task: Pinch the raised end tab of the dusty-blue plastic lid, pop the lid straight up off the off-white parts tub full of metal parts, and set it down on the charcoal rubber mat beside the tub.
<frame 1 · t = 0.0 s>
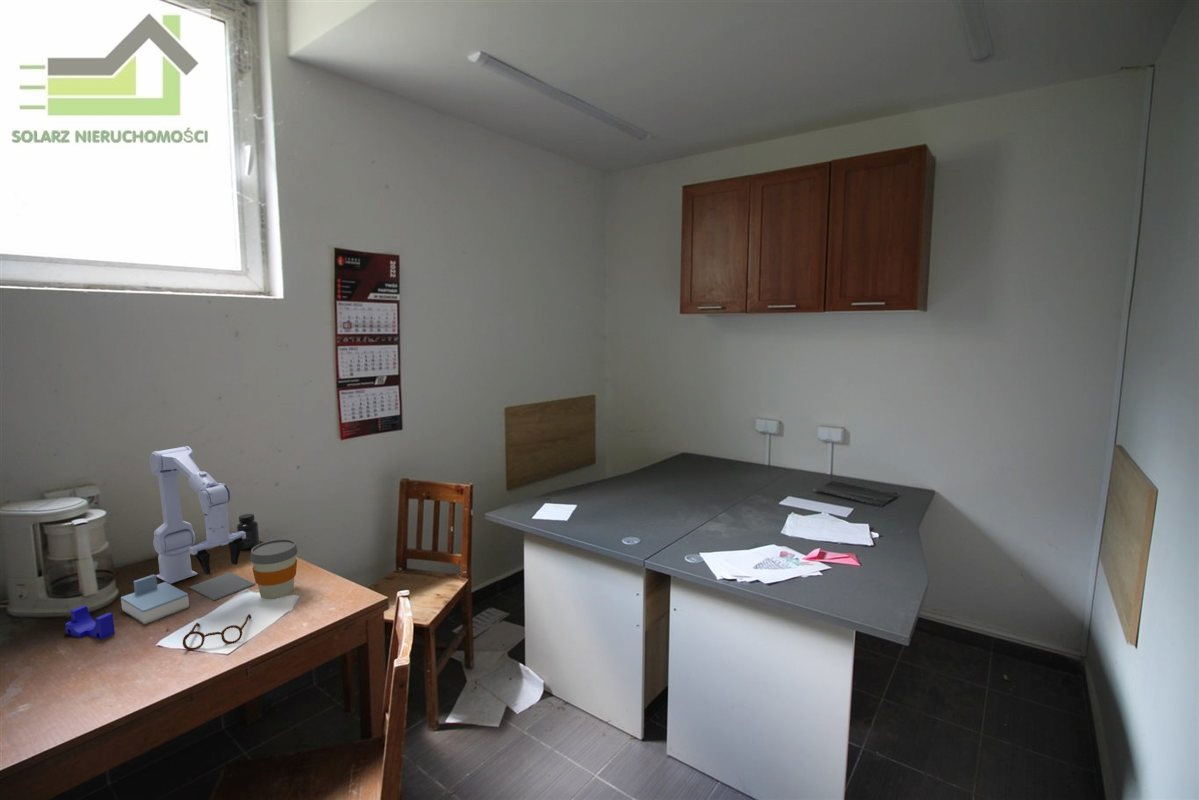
hand: (221, 568, 166), 10 cm above the table, tool pointing down, fingers open, 7 cm apart
cable clip: (90, 634, 149), on the table
reusable coffee cup: (277, 592, 173), on the table
lid: (154, 597, 162), point 3 cm above the table, touching tub
glasses: (219, 635, 151), on the table
supplement bottle: (249, 547, 206), on the table
tub: (156, 608, 162), on the table
mat: (222, 586, 176), on the table
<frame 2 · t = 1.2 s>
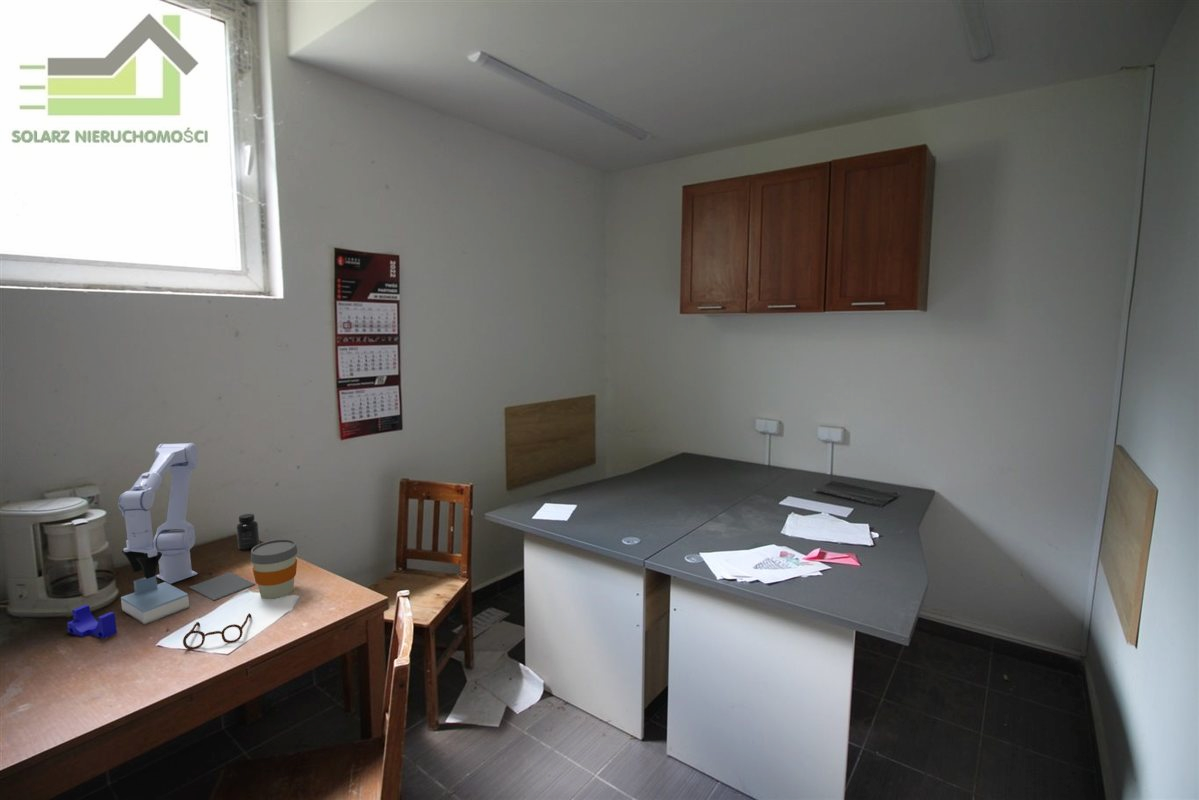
hand: (144, 574, 163), 9 cm above the table, tool pointing down, fingers open, 7 cm apart
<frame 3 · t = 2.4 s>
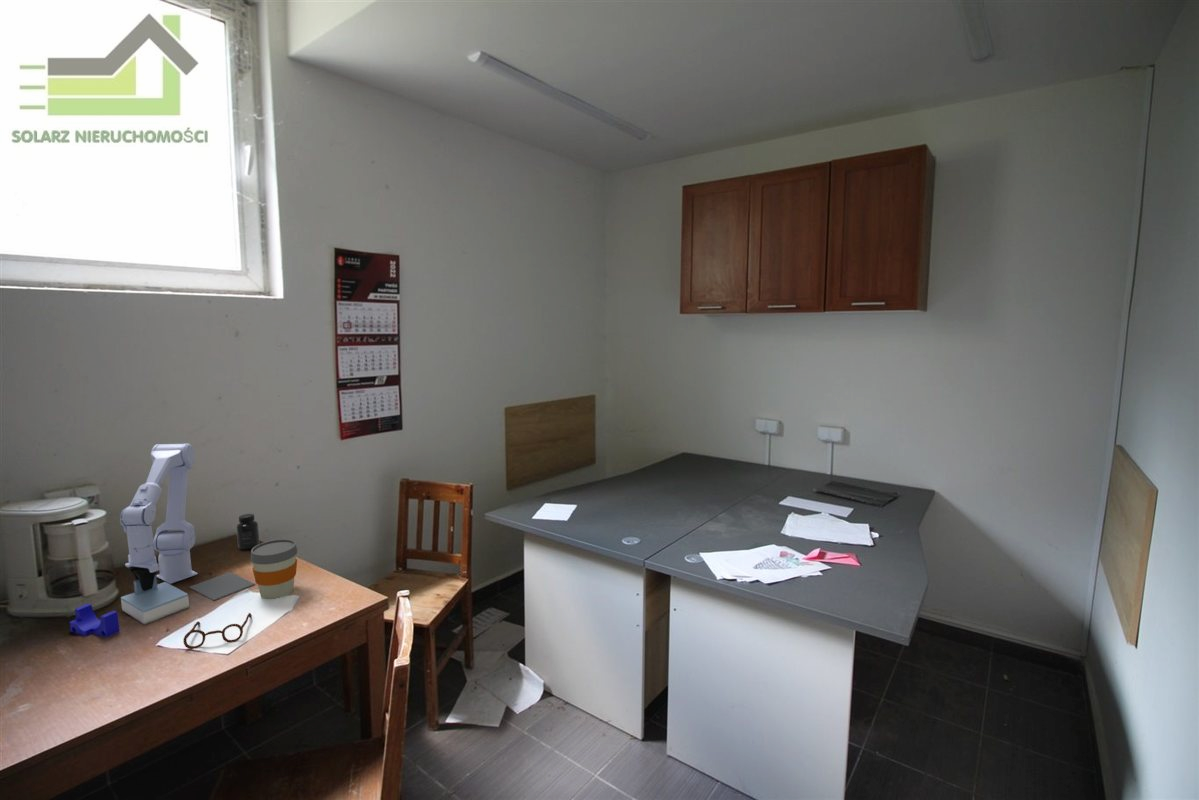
hand: (146, 588, 164), 5 cm above the table, tool pointing down, fingers closed on lid
lid: (154, 597, 162), point 3 cm above the table, touching gripper, tub
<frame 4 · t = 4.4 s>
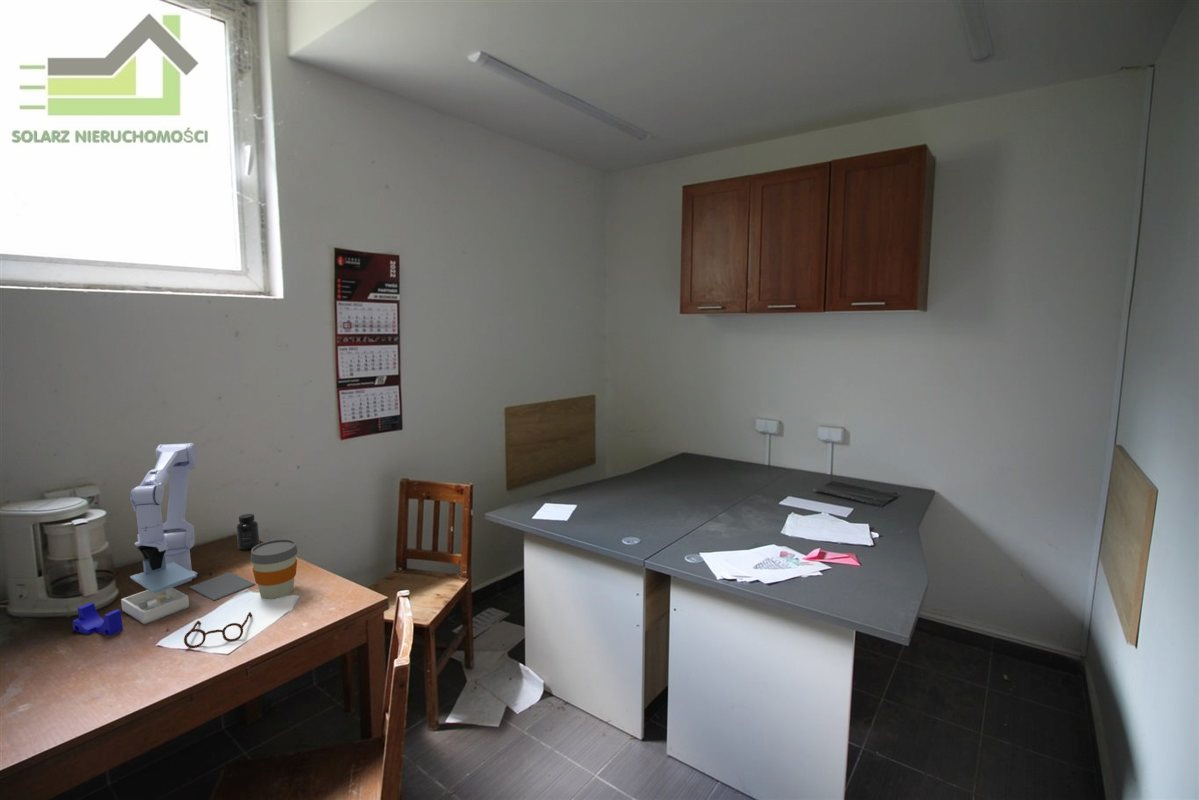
hand: (155, 567, 165), 10 cm above the table, tool pointing down, fingers closed on lid
lid: (163, 577, 163), point 9 cm above the table, touching gripper
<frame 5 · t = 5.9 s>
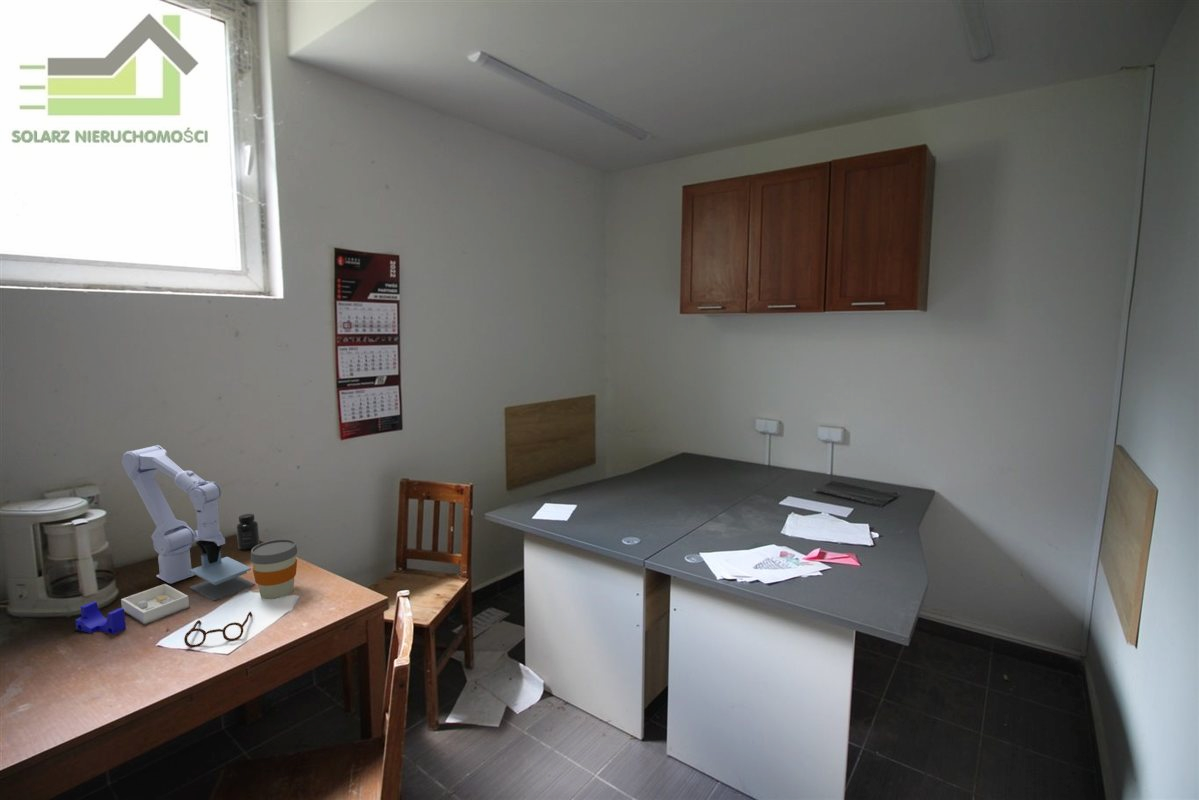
hand: (211, 561, 177), 7 cm above the table, tool pointing down, fingers closed on lid
lid: (220, 570, 175), point 5 cm above the table, touching gripper
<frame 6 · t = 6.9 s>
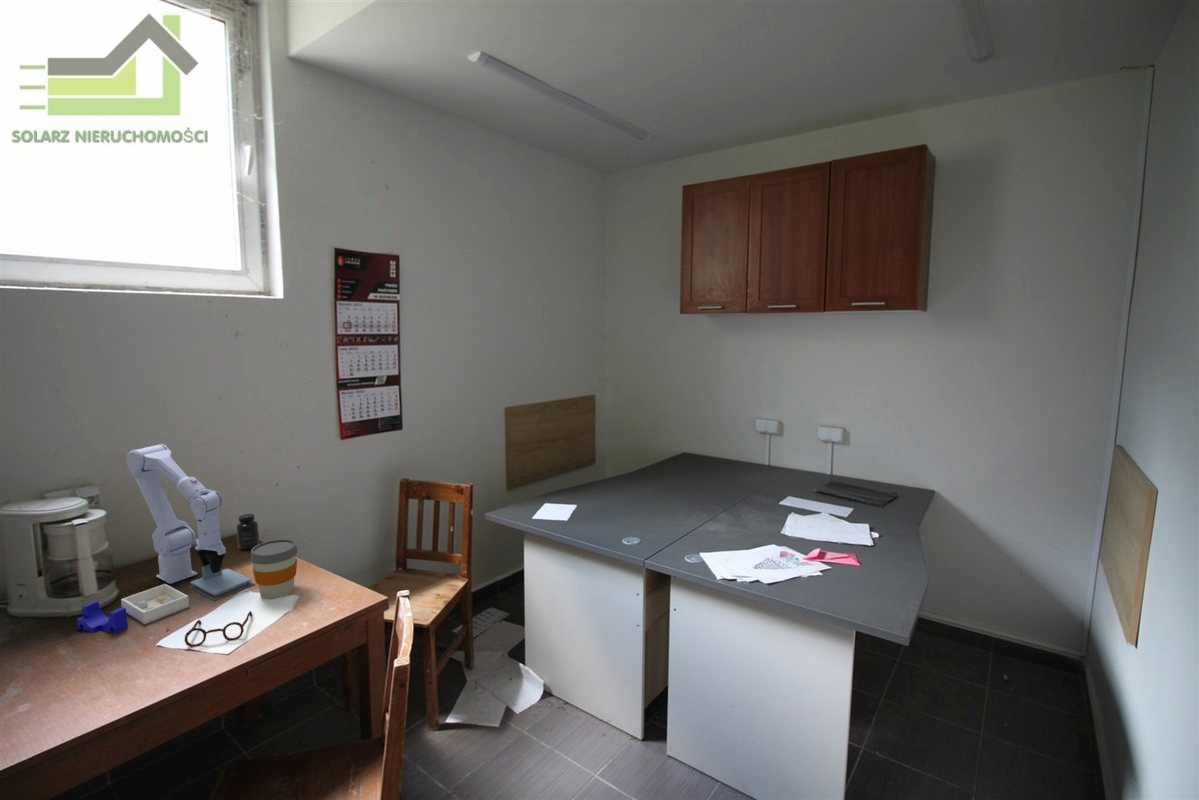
hand: (212, 570, 178), 4 cm above the table, tool pointing down, fingers open, 4 cm apart
lid: (221, 582, 176), point 1 cm above the table, touching mat
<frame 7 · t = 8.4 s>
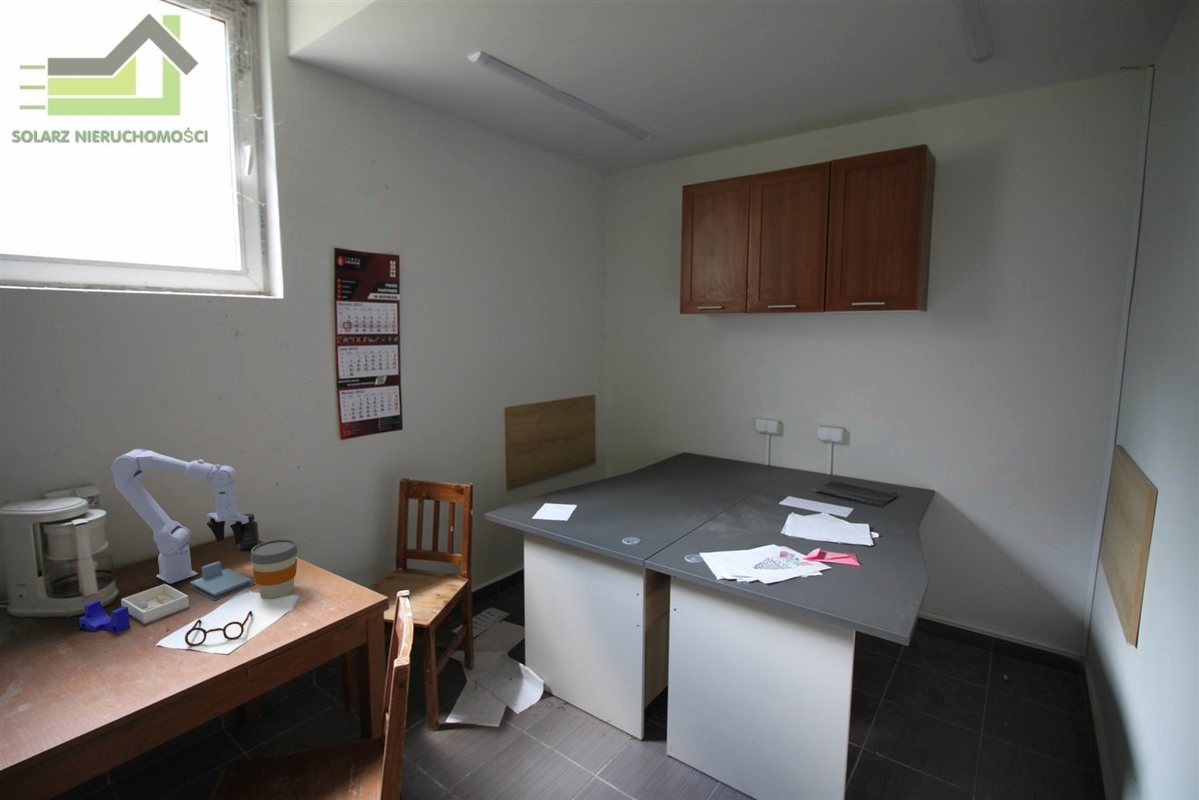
hand: (229, 541, 185), 10 cm above the table, tool pointing down, fingers open, 7 cm apart
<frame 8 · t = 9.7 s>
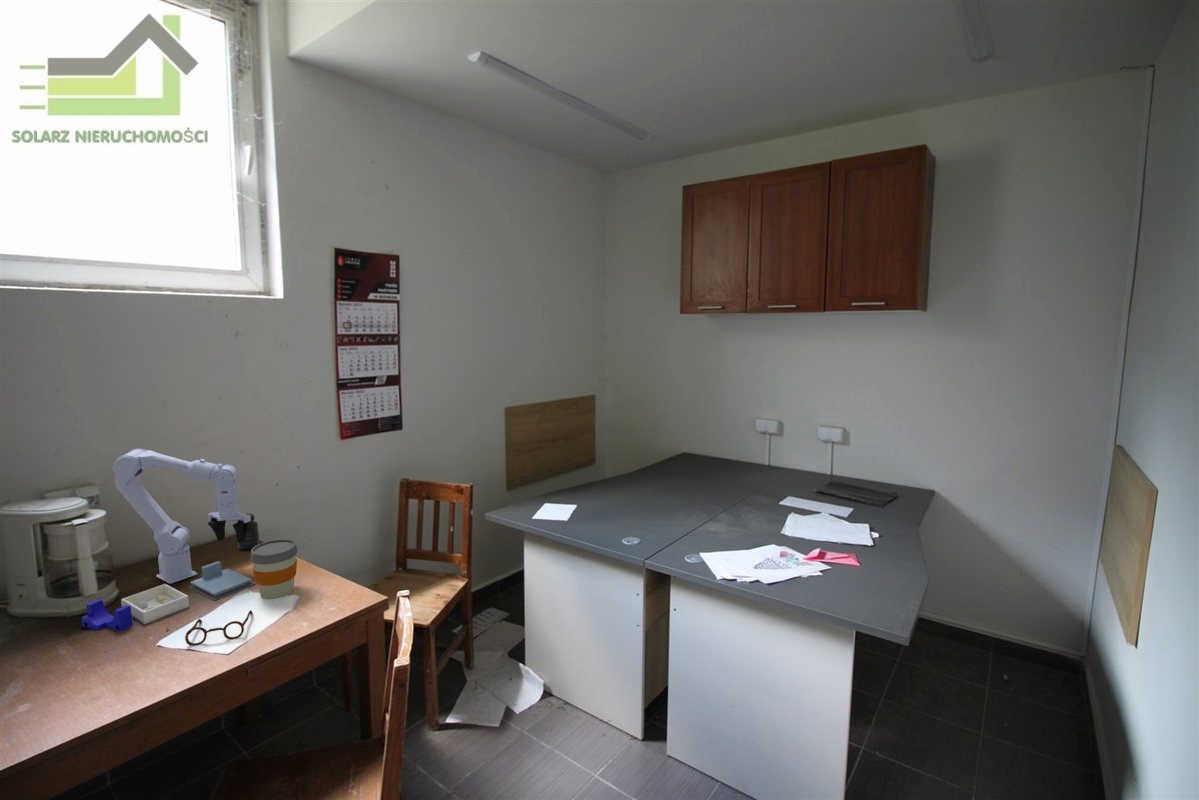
hand: (231, 540, 185), 10 cm above the table, tool pointing down, fingers open, 7 cm apart
at the end: lid touching mat; lid inside the target area on the mat (0.3 cm from its centre), point 1.4 cm above the mat's base; the gripper is holding nothing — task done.
